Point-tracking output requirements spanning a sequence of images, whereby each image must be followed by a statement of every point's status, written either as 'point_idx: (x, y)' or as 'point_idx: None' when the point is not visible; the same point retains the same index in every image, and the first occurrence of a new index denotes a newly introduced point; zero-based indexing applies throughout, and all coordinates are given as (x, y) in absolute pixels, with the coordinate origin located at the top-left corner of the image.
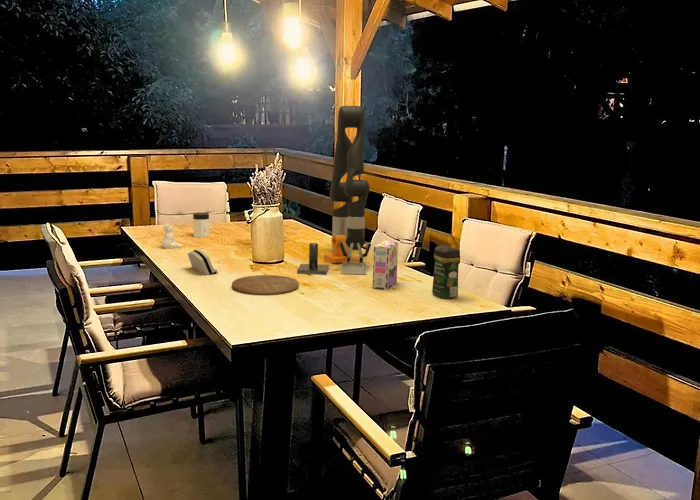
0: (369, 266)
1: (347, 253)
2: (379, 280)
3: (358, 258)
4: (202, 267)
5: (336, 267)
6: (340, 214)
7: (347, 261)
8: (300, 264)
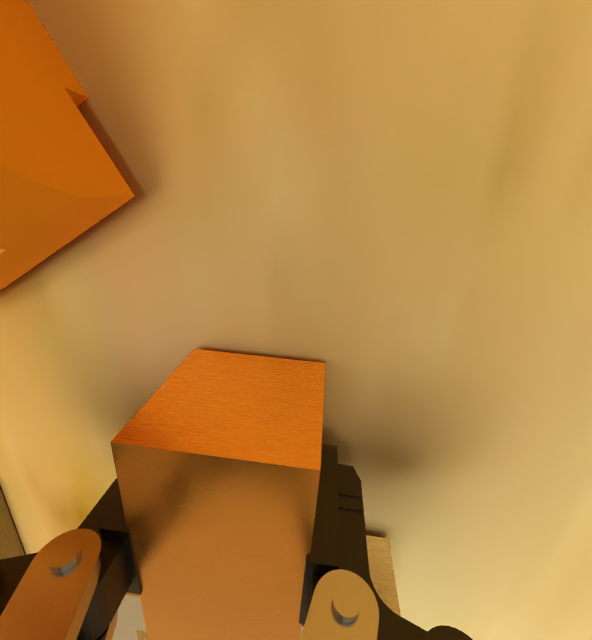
0: (462, 395)
1: (2, 628)
2: None
3: (279, 618)
4: None
5: (56, 444)
6: None
7: None
8: None
